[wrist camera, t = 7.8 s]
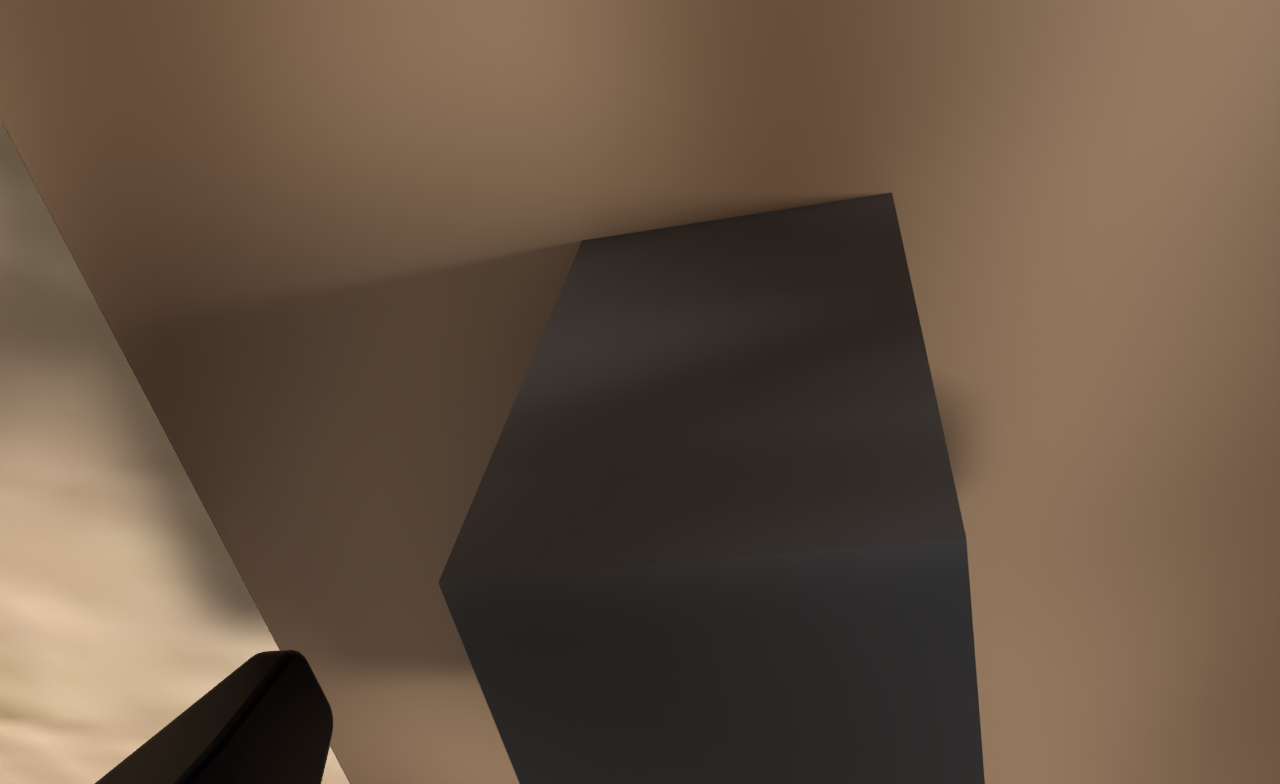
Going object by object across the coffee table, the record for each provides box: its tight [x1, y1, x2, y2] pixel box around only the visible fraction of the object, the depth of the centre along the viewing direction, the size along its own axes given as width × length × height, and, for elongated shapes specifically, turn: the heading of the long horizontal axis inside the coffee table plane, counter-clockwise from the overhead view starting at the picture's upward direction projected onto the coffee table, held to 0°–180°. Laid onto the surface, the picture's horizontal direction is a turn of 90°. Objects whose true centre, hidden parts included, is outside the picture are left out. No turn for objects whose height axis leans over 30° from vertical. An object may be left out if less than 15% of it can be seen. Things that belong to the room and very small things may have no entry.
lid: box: [0, 0, 1280, 784], centre depth 10 cm, size 14×14×6 cm
